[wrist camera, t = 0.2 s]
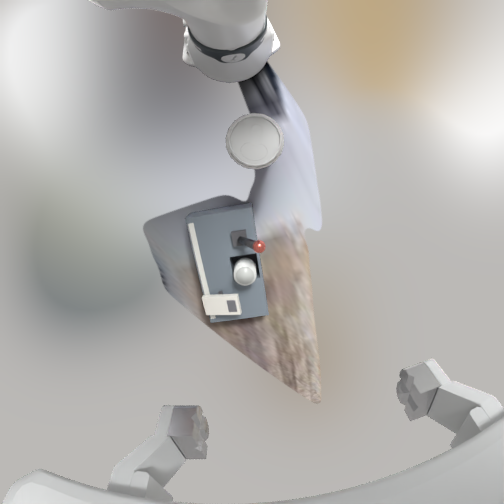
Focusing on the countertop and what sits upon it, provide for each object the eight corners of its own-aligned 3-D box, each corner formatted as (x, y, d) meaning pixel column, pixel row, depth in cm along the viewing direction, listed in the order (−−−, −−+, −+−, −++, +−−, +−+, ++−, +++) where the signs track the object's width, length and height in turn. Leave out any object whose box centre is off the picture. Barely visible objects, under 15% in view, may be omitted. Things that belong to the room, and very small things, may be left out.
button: (232, 259, 53) (231, 267, 49) (254, 256, 52) (254, 263, 49) (236, 278, 54) (235, 287, 50) (257, 275, 54) (258, 284, 50)
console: (190, 213, 55) (184, 219, 49) (251, 202, 54) (252, 208, 49) (213, 310, 62) (210, 325, 56) (267, 302, 61) (269, 317, 56)
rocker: (203, 294, 54) (201, 297, 53) (238, 293, 52) (236, 296, 51) (207, 312, 55) (206, 315, 54) (241, 311, 54) (240, 315, 53)
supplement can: (272, 168, 52) (281, 172, 38) (228, 163, 52) (221, 166, 37) (277, 126, 49) (288, 116, 35) (233, 121, 49) (228, 109, 35)
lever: (233, 235, 49) (256, 243, 43) (243, 232, 50) (267, 239, 44) (235, 246, 50) (257, 255, 44) (245, 243, 51) (268, 252, 44)
